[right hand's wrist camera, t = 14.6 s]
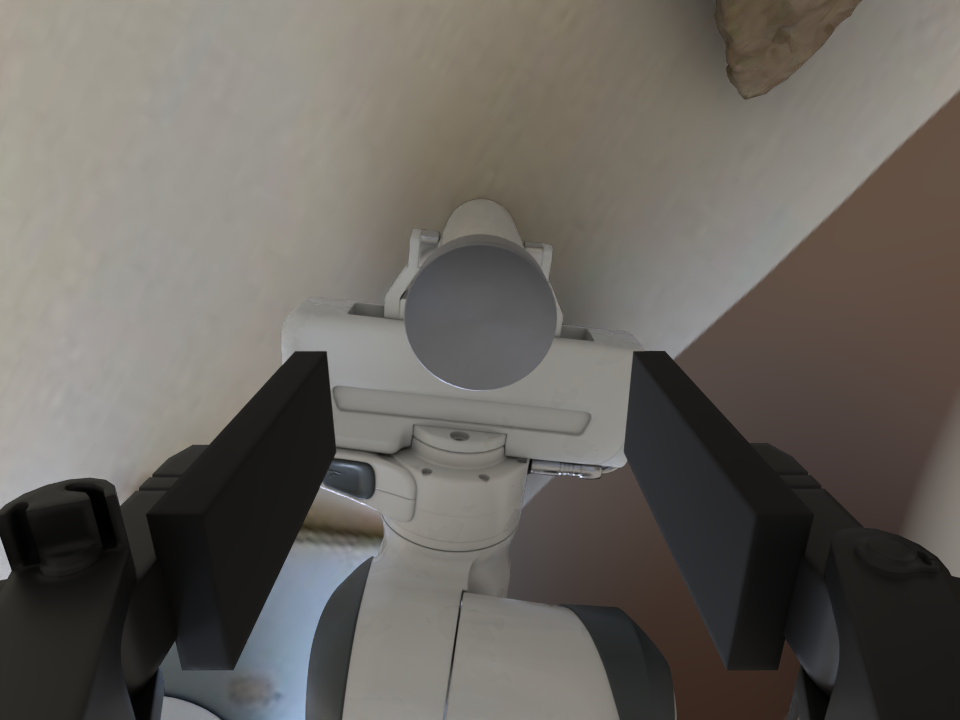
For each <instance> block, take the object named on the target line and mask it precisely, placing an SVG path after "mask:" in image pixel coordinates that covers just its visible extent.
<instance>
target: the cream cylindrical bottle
mask: <svg viewBox="0 0 960 720" xmlns="http://www.w3.org/2000/svg"><path fill="white" fill-rule="evenodd" d="M475 234H488V235H494V236H498V237H502V238H505V239H508V240H510V241H512V242H514V243H516V244H517V245H519V246H521V247H522V248H523V249H525V247H524V245H523V242H522V240H521V238H520V235H519V233H518V230H517V228H516V226H515V223H514V221H513V219H512V217H511V215H510V214H509V213H508V211H507V210H506V209H505V208H503V207H502V206H501V205H499V204H498V203H496V202H493V201H490V200H485V199H476V200H471V201H468V202H465V203H464V204H462V205H460V206H459V207H458V208H457V209H456V210H455V211H454V212H453V213H452V214H451V216H450V217H449V219H448V221H447V224H446V226H445V229H444V231H443V233H442V236H441V238H440V241H439V243H438V245H437V248H436V249H438V248H439V247H440V246H442V245H444V244H445V243H447V242H449V241H451V240H454V239H456V238H459V237H463V236H467V235H475Z"/></svg>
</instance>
